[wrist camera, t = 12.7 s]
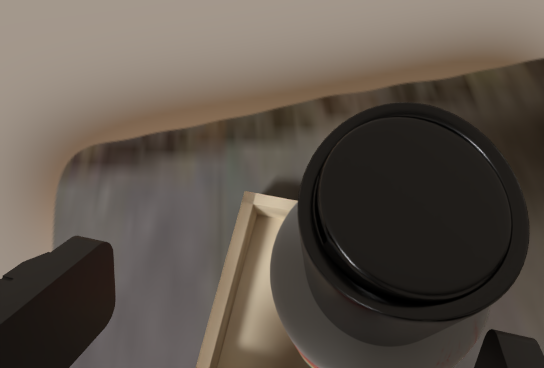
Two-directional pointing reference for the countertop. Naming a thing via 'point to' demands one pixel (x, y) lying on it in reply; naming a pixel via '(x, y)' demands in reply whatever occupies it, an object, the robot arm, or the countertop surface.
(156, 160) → the countertop surface
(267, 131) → the countertop surface
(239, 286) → the tray
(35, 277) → the robot arm
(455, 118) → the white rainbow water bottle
